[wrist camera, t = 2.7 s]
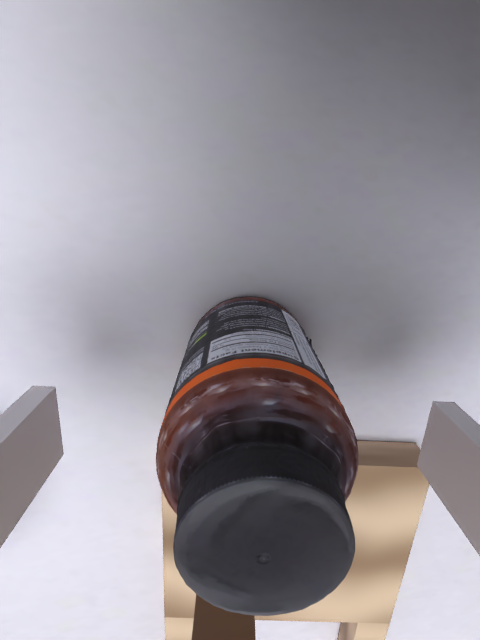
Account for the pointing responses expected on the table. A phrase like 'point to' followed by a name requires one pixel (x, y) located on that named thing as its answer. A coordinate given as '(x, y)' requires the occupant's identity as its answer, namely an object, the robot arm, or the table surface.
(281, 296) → the table surface
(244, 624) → the hook post
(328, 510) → the supplement bottle
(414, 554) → the table surface
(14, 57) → the table surface
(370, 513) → the oak forked base
